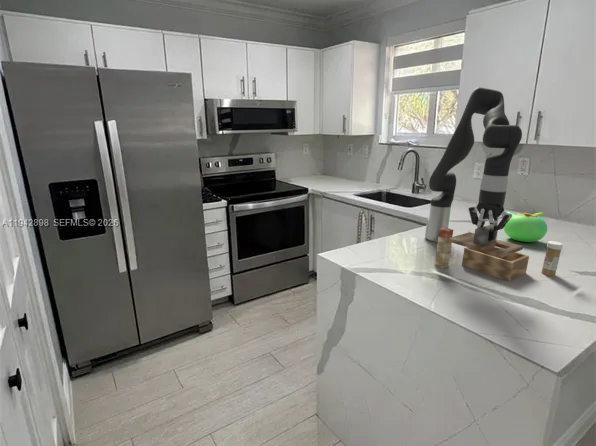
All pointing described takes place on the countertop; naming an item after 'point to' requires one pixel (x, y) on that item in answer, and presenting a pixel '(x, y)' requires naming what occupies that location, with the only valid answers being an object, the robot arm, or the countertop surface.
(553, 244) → the sprinkles bottle
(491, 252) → the lid
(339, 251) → the countertop surface
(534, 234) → the green rounded piece
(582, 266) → the countertop surface
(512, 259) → the wooden box
